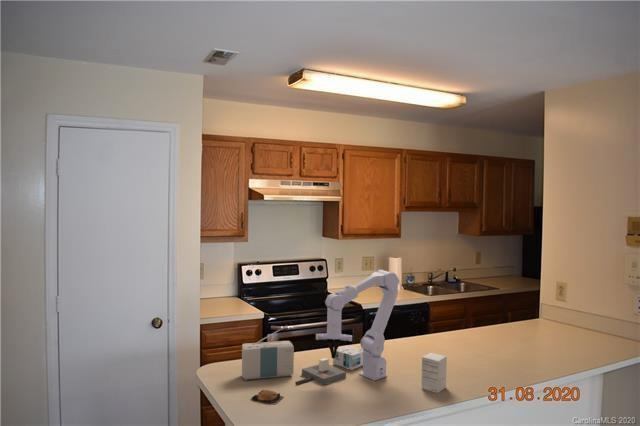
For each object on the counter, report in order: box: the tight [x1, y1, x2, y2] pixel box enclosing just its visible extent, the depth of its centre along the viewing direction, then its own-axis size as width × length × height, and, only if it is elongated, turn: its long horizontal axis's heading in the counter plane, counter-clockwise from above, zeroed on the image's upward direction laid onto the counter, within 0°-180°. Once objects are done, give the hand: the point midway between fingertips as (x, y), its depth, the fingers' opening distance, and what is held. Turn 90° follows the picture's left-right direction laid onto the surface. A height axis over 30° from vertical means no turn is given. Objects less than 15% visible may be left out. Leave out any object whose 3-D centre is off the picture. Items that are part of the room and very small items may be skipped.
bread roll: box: [251, 389, 285, 405], centre depth 179 cm, size 11×8×4 cm
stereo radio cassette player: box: [241, 325, 295, 381], centre depth 201 cm, size 21×8×20 cm, turn 105°
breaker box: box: [301, 363, 347, 386], centre depth 202 cm, size 14×12×2 cm
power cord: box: [294, 377, 314, 386], centre depth 195 cm, size 1×8×1 cm, turn 130°
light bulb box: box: [332, 345, 363, 371], centre depth 216 cm, size 11×7×11 cm
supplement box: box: [421, 352, 447, 394], centre depth 191 cm, size 7×7×13 cm
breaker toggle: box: [318, 357, 330, 372], centre depth 202 cm, size 2×4×4 cm, turn 130°
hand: (333, 357), depth 197 cm, fingers closed
